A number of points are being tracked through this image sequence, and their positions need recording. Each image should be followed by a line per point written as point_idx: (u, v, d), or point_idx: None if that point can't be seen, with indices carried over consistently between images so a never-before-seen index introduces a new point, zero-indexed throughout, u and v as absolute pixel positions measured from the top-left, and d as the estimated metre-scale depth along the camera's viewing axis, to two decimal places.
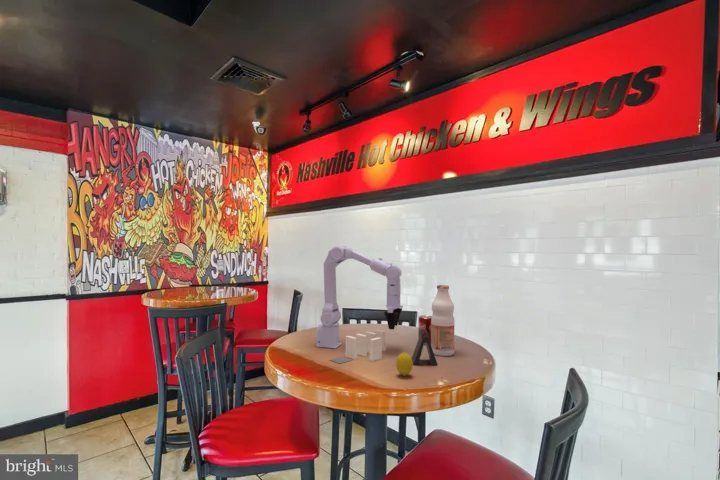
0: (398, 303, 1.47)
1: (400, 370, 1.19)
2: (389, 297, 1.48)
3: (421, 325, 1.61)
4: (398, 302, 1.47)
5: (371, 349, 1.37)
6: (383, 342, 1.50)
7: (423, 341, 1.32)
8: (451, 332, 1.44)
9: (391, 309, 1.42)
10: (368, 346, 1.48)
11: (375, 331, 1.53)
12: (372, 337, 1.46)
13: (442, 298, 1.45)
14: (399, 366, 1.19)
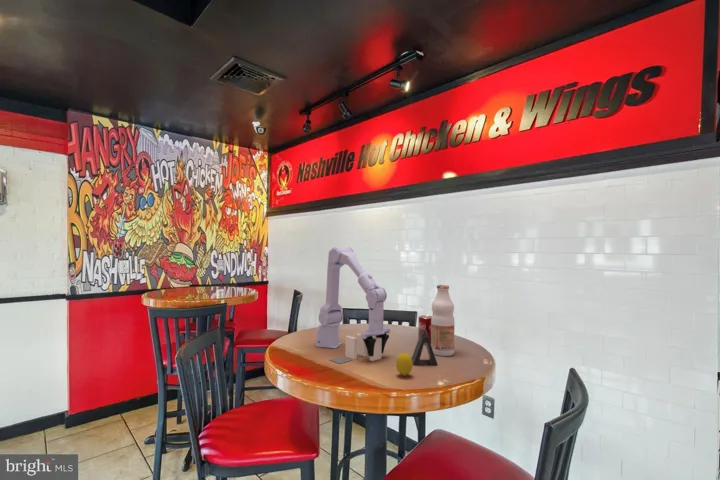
0: (377, 329, 1.36)
1: (400, 370, 1.19)
2: (369, 321, 1.38)
3: (421, 325, 1.61)
4: (377, 328, 1.36)
5: None
6: None
7: (423, 341, 1.32)
8: (451, 333, 1.44)
9: (363, 335, 1.33)
10: None
11: None
12: (372, 337, 1.46)
13: (442, 298, 1.45)
14: (399, 366, 1.19)
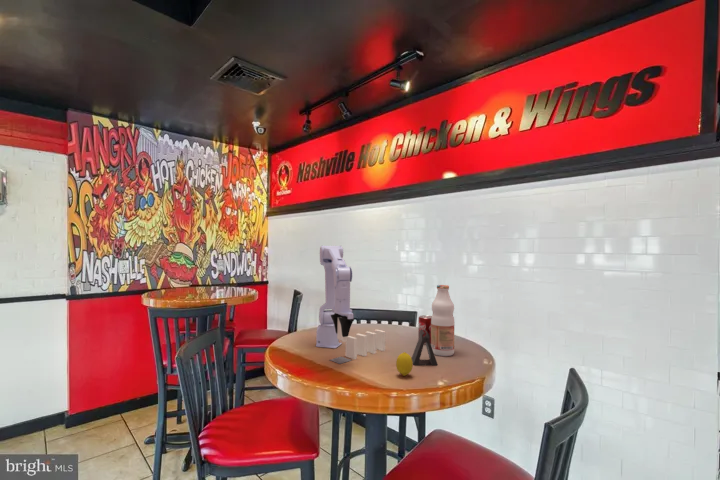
0: (349, 307, 1.35)
1: (400, 370, 1.19)
2: (342, 302, 1.32)
3: (421, 325, 1.61)
4: (349, 306, 1.35)
5: None
6: (383, 342, 1.50)
7: (423, 341, 1.32)
8: (451, 333, 1.44)
9: (352, 315, 1.29)
10: (368, 346, 1.48)
11: (375, 331, 1.53)
12: (372, 337, 1.46)
13: (442, 298, 1.45)
14: (399, 366, 1.19)
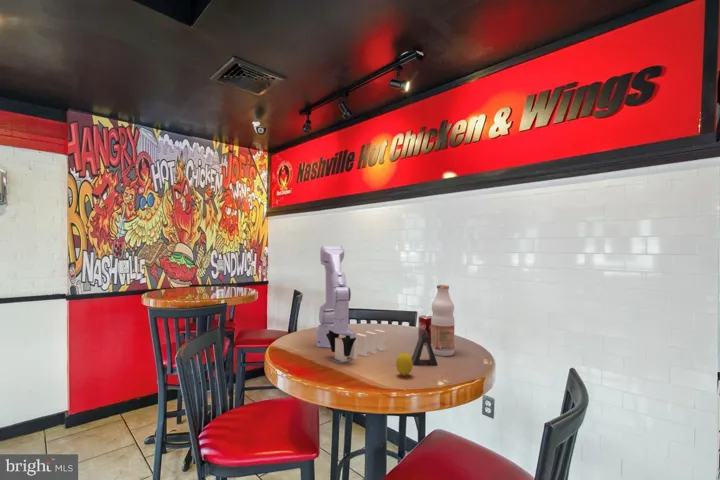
0: None
1: (400, 370, 1.19)
2: (342, 321, 1.34)
3: (421, 325, 1.61)
4: None
5: None
6: (383, 342, 1.50)
7: (423, 341, 1.32)
8: (451, 332, 1.44)
9: (354, 334, 1.32)
10: (368, 346, 1.48)
11: (375, 331, 1.53)
12: (372, 337, 1.46)
13: (442, 298, 1.45)
14: (399, 366, 1.19)
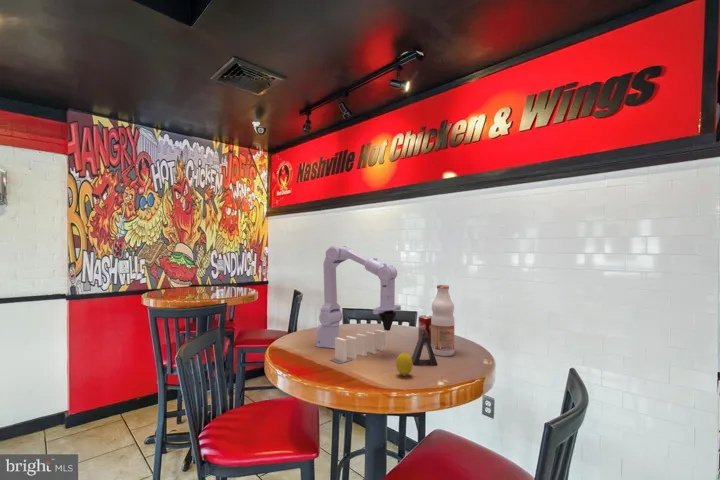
0: (389, 305, 1.40)
1: (400, 370, 1.19)
2: (380, 298, 1.42)
3: (421, 325, 1.61)
4: (389, 304, 1.40)
5: (345, 349, 1.35)
6: (383, 342, 1.50)
7: (423, 341, 1.32)
8: (451, 332, 1.44)
9: (375, 310, 1.38)
10: (368, 346, 1.48)
11: (375, 331, 1.53)
12: (372, 337, 1.46)
13: (442, 298, 1.45)
14: (399, 366, 1.19)
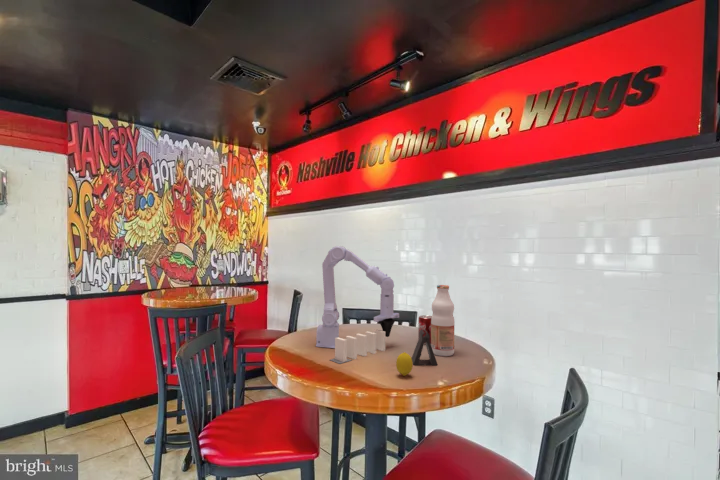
0: (388, 313, 1.52)
1: (400, 370, 1.19)
2: (380, 307, 1.54)
3: (421, 325, 1.61)
4: (388, 312, 1.52)
5: (345, 349, 1.35)
6: (383, 342, 1.50)
7: (423, 341, 1.32)
8: (451, 332, 1.44)
9: (376, 318, 1.50)
10: (368, 346, 1.48)
11: (375, 331, 1.53)
12: (372, 337, 1.46)
13: (442, 298, 1.45)
14: (399, 366, 1.19)
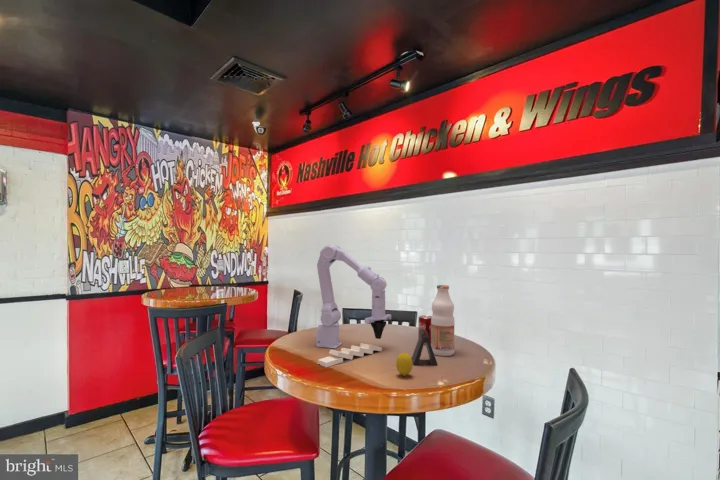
0: (380, 315, 1.49)
1: (400, 370, 1.19)
2: (372, 308, 1.51)
3: (421, 325, 1.61)
4: (380, 314, 1.49)
5: (334, 362, 1.31)
6: (376, 349, 1.47)
7: (423, 341, 1.32)
8: (451, 332, 1.44)
9: (367, 320, 1.46)
10: None
11: None
12: (360, 351, 1.41)
13: (442, 298, 1.45)
14: (399, 366, 1.19)
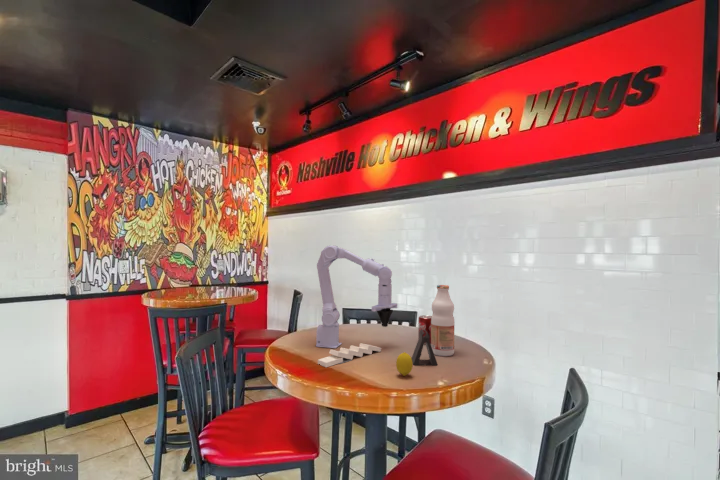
0: (386, 303, 1.52)
1: (400, 370, 1.19)
2: (378, 297, 1.53)
3: (421, 325, 1.61)
4: (386, 302, 1.52)
5: (334, 362, 1.31)
6: (375, 349, 1.46)
7: (423, 341, 1.32)
8: (451, 333, 1.44)
9: (374, 308, 1.49)
10: None
11: (361, 347, 1.47)
12: None
13: (442, 298, 1.45)
14: (399, 366, 1.19)
